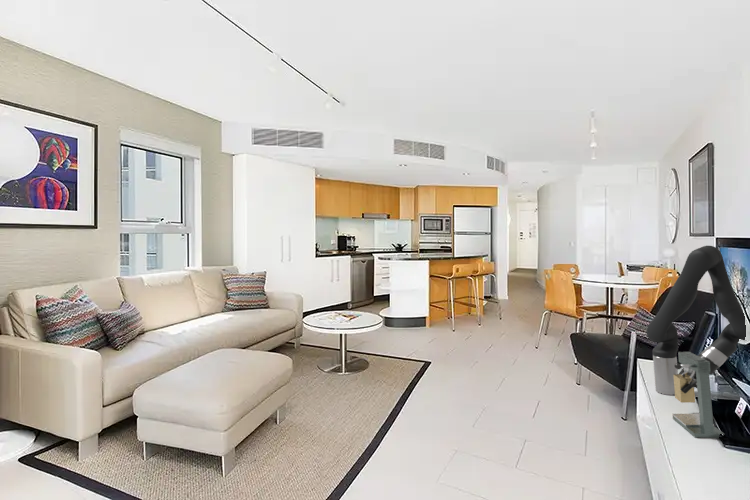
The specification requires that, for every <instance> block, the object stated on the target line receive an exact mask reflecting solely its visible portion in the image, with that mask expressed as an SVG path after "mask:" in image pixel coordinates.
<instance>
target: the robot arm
mask: <svg viewBox="0 0 750 500" xmlns="http://www.w3.org/2000/svg"><path fill="white" fill-rule="evenodd" d="M723 257H724V256H723V255H722V252H721V251H720V249H718V248H717V247H716V246H714V245H704V246H701V247H698V248H695V249H694V250H692V251H691V252H690V253H689V254H688V256H687V258H686V260H685V263H684V266H683V268H682V271H681V273H680V274H679V276H678V277H677V278H676V281H675V283H674V284H673V286H672V287H671V289H670V290H669V293H668V294H667V296H666V298H665V300H664V302H663V304H661V307H660V308H659V310H658V311H657V313H656V314H655V316H654V317H653V319H652V320H651V321H650V322H649V324H648V325H647V328H646V336H647V338H648V339H649V341H651V342H653V343H657V345H656V346H655V347H654V348H653V349H652V361H653V371H654V373H653V374H654V386H655V392H657V393H658V392H659V394H661V393H662V394H663V395H668V396H675V389H674V375H673V374H685V375H689V376H690V377H689V378H690V380H689V381H688V384H687V383H686V384H685V385H684V386H683V387H682V388H681V391H682V392H684V393H687V392H688V391H689V390H690V389H691V388H692V387H693V388H694V389H697V379H696V371H694V370H693V372H692V373H689V372H684V368H681V369H680V371H679V369H676V368H675V367H674V365H675V364H676V363H678V359H677V358H678V357H677V353H678V352H679V335H678V330H677V327H676V326H675V324H673V323H674V321H676V320H677V319H678V318H680V317H681V316H682V315H683V314H685V313H686V312H687V311H688V310H689V309H690V307H691V306H692V305H693V303H694V302H695V299H696V298H697V295H698V290H699V289H698V288H699V283H700V282H701V280H702V279H703V277H704V276H705V274H706V273H708V274H709V277H710V281H711V285H712V286H711V287H712V294H713V300H714V302H715V303H716V306H717V308H718V310H719V312H720V314H721V316H722V317H724V318H725V319H726V320H727V321H728V324H727V325H726V326H725V327H724V328H723V330H722V331H721V332H720V333H719V336H718V337H717V338H716V339H715V340H714V341H713V342H712V343H711V344H709V346H707V347H706V348H705V349H704V350H702V351H701V352H700V353H699V354H698V355H697V356H699V357H701V358H703V359H705V360H707V361H709V362H710V372H711V373H709V375H713V374H714V373H715V372H716V371H717V370H718V369H719V368H720V367H721V366H722V365H724V363H725V362H726V361H727V360H728V359H729V358H730V357H731V356H732V355H733V354H734V353H736V350H737V348H738V347H737V344H739V342H740V341H746V340H745V337H746V325H745V316H744V313H745V312H744V313H743V311H744V310H743V308H742V305H741V304H740V301H739V300H738V299H739V298H737V295H736V293H735V291H734V289H733V286H732V283H731V281H730V278H729V275H728V271H727V267H726V264H725V260H724V258H723ZM739 339H741V340H740V341H739ZM692 381H693V382H692ZM662 394H661V395H662Z"/></svg>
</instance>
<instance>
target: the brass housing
mask: <svg viewBox="0 0 750 500" xmlns="http://www.w3.org/2000/svg"><path fill="white" fill-rule="evenodd" d="M673 375H674V389H675V395H674V398H675V400H676V399H677V400H678V402H680V403H682V404H683V403H685V404H686V403H688V404H689V403H696V396H695V387H694V388H693V387H692V388H691V389H690V390H689V391H688V392H687V393H684V392H682V391H681V388H682V387H683V386H684V385H685V384H686V383H687V384H688V381H689V380H690V378H689V377H690V376H689V375H685V374H679V373H678V374H673ZM692 382H693V381H692Z"/></svg>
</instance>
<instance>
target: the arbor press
mask: <svg viewBox="0 0 750 500" xmlns="http://www.w3.org/2000/svg"><path fill="white" fill-rule="evenodd" d="M677 353H678V354H677V355H678V357H677V358H678V362H677V363H676V364H675V365H674V367H675V368H676V369H678V370H682V369H683V368H684V372H689V373H692V372H693V370H694V371H696V379H697V388H696V389H697V402H698V411H699V413H672V419H673V420H674V421H675V423H677V424H678V425H679V426H680V427H681V428H683V429H684V430H685V431H686V432H688V433H689V435H691V436H693V437H694V438H695V439H696V438H697V439H698V438H704V439H705V438H708V439H713V438H714V439H715V438H716V439H720V438H719V435H720V434H724V435H725V433H724V432H723V431H721V430H720V429H719V428H718V427H716V426H715V424H714V417H713V406H712V393H711V383H710V382H711V380H710V374H709V373H711V372H710V362H709V361H707V360H705V359H703V358H701V357H699V356H698V355H697V354H696V353H695V354H694V353H693V352H691V351H677Z"/></svg>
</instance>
